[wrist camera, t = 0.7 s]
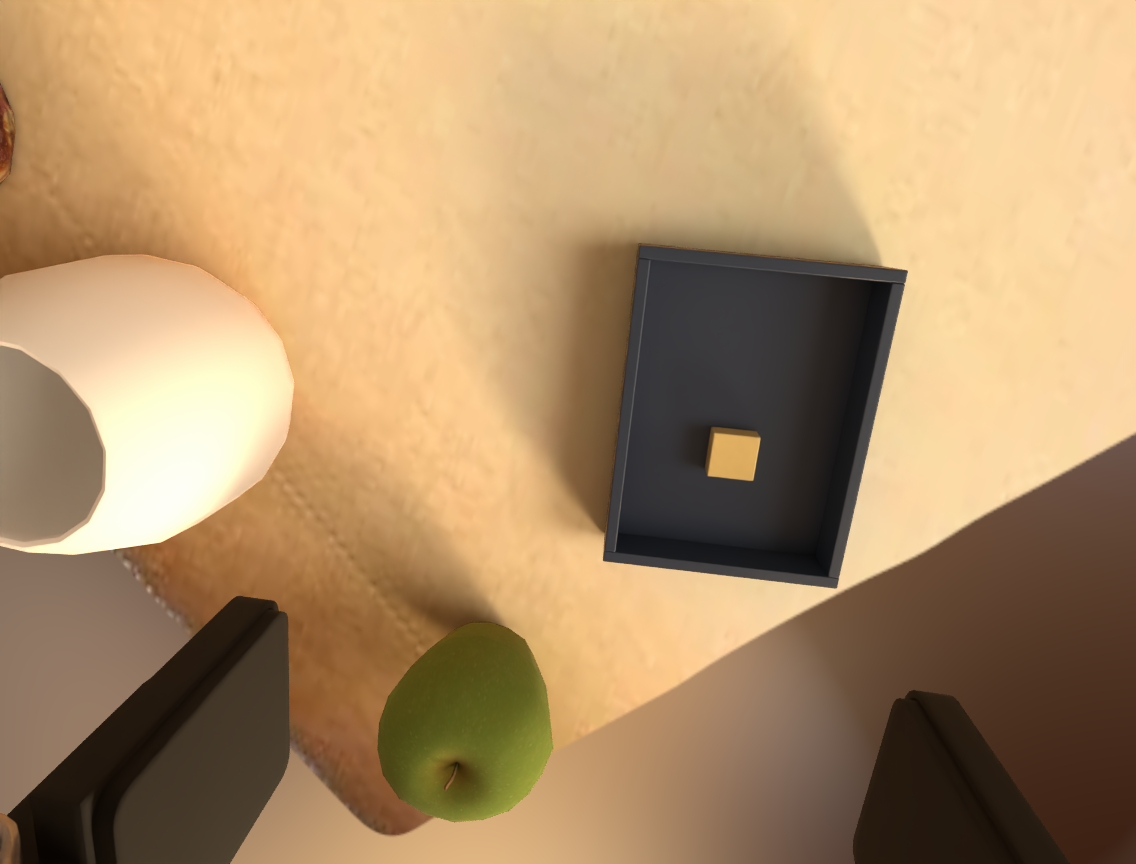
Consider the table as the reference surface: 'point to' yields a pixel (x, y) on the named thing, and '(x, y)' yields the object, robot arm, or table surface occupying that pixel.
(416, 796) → the apple
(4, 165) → the pastry
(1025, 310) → the table surface
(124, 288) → the white vase
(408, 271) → the table surface
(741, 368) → the tray
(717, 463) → the tan square block
